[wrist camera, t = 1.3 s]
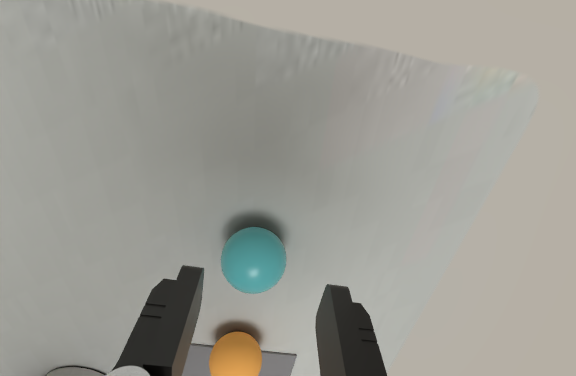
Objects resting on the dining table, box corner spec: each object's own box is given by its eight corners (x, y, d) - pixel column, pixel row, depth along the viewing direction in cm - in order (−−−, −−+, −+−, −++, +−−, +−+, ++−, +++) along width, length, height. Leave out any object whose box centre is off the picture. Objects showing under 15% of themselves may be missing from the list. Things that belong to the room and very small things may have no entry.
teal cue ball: (252, 270, 31) (246, 317, 26) (213, 234, 29) (200, 278, 24) (297, 244, 30) (300, 288, 25) (260, 204, 28) (256, 243, 23)
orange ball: (236, 358, 38) (229, 408, 33) (204, 334, 36) (191, 384, 31) (273, 339, 36) (271, 389, 31) (241, 313, 34) (235, 362, 29)
